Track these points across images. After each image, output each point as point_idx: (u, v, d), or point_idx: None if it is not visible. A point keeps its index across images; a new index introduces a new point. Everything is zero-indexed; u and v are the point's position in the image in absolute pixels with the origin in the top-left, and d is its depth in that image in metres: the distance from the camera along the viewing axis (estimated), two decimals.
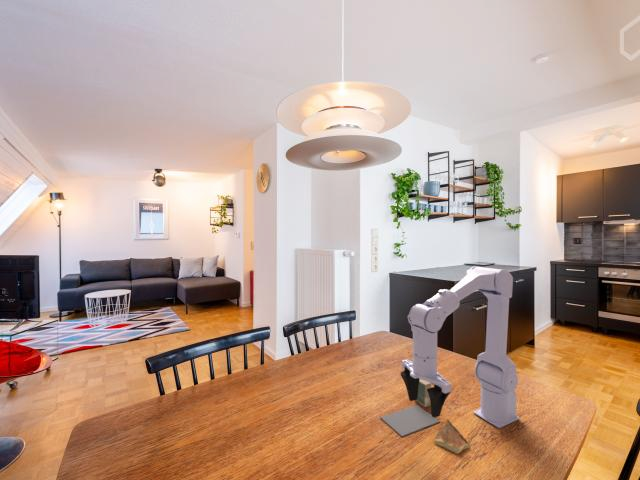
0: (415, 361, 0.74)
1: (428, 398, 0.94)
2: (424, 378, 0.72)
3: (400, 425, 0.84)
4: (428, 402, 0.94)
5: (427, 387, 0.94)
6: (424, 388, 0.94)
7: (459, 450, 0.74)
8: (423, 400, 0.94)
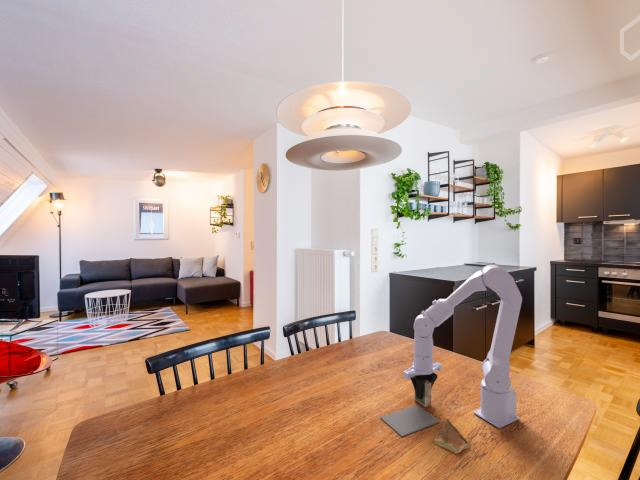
0: None
1: (428, 398, 0.94)
2: None
3: (400, 425, 0.84)
4: (428, 402, 0.94)
5: (427, 387, 0.94)
6: (424, 388, 0.94)
7: (459, 450, 0.74)
8: (423, 400, 0.94)
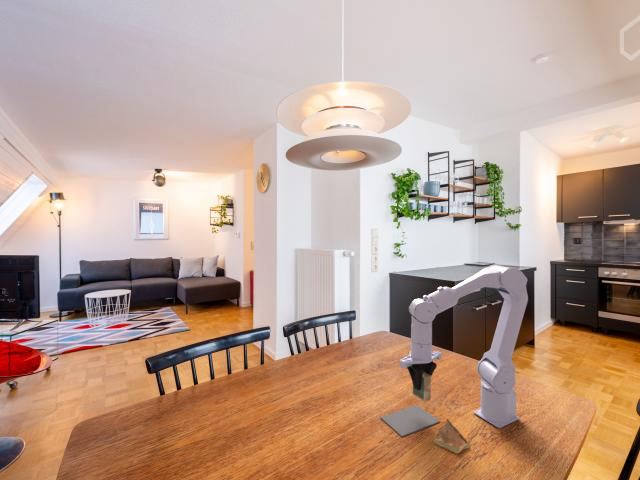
0: None
1: (427, 392, 0.86)
2: None
3: (400, 425, 0.84)
4: (427, 396, 0.86)
5: (426, 380, 0.86)
6: (423, 381, 0.86)
7: (459, 450, 0.74)
8: (422, 394, 0.87)
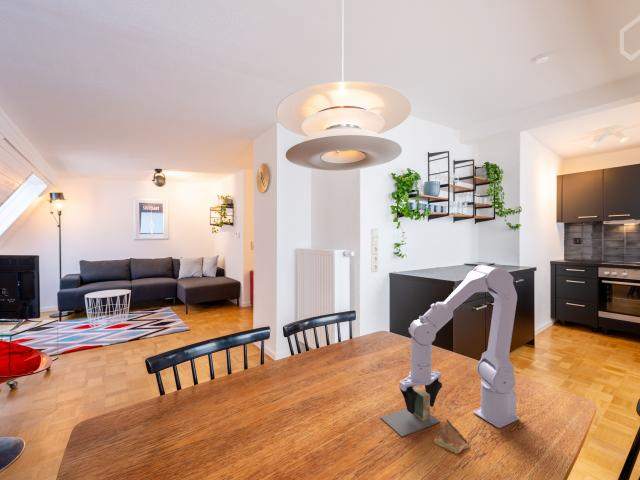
0: None
1: (427, 411, 0.87)
2: None
3: (400, 425, 0.84)
4: (427, 415, 0.87)
5: (425, 399, 0.86)
6: (422, 400, 0.86)
7: (459, 450, 0.74)
8: (421, 413, 0.87)
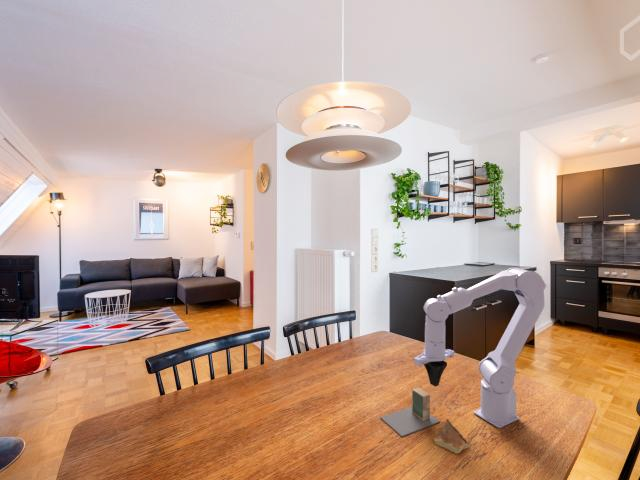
0: None
1: (427, 411, 0.87)
2: None
3: (400, 425, 0.84)
4: (427, 415, 0.87)
5: (425, 399, 0.86)
6: (422, 400, 0.86)
7: (459, 450, 0.74)
8: (421, 413, 0.87)
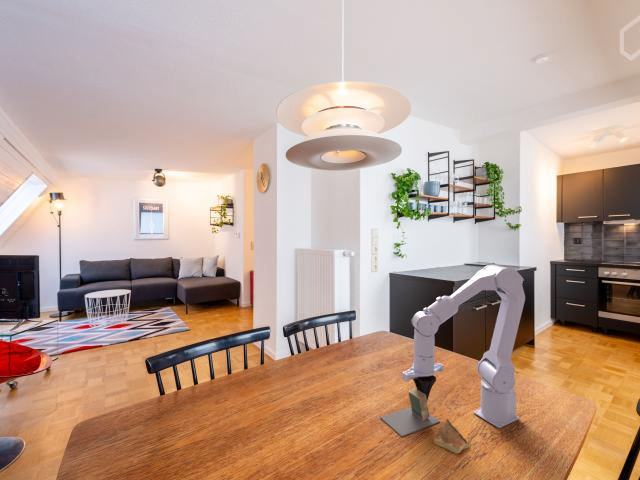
0: None
1: (425, 411, 0.86)
2: None
3: (400, 425, 0.84)
4: (426, 415, 0.86)
5: (422, 400, 0.86)
6: (419, 402, 0.86)
7: (459, 450, 0.74)
8: (420, 414, 0.87)
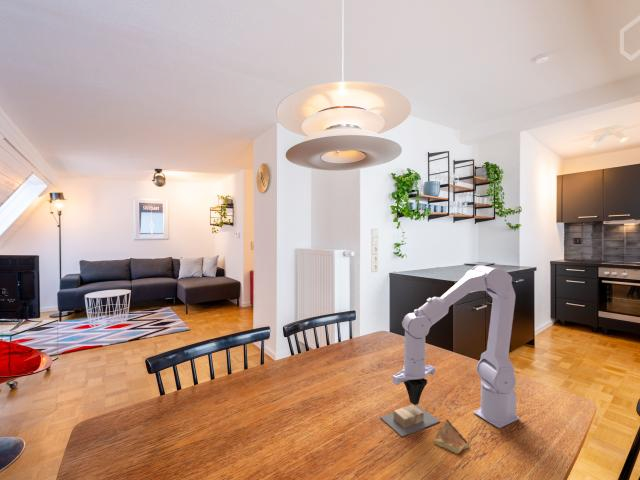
0: None
1: (417, 418, 0.85)
2: None
3: (400, 425, 0.84)
4: (420, 417, 0.85)
5: (407, 423, 0.83)
6: None
7: (459, 450, 0.74)
8: None
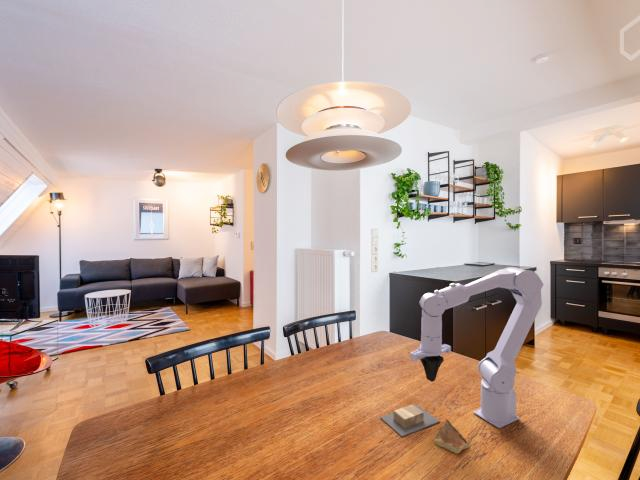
0: None
1: (417, 418, 0.85)
2: None
3: (400, 425, 0.84)
4: (420, 417, 0.85)
5: (407, 423, 0.83)
6: None
7: (459, 450, 0.74)
8: None
